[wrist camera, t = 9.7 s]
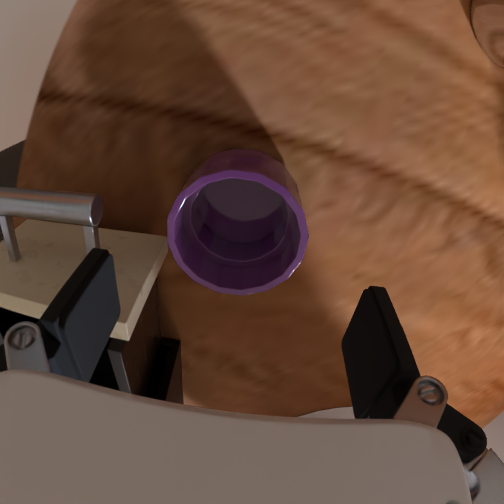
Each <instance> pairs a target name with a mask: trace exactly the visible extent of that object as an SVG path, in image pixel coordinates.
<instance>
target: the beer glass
mask: <svg viewBox="0 0 504 504" xmlns="http://www.w3.org/2000/svg"><path fill="white" fill-rule="evenodd" d="M471 20H472V25H473V29H474V32H475V35H476V37H477V39H478V42H479V44H480V45H481V47H482V49H483V50H484V52H485V53H486V54H487V56H488V57H489V58H490V59H491V60H492V61H493V62H494V63H495V64H497V65H498V66H500V67H501V68H503V69H504V0H473V1H472V5H471Z"/></svg>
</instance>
